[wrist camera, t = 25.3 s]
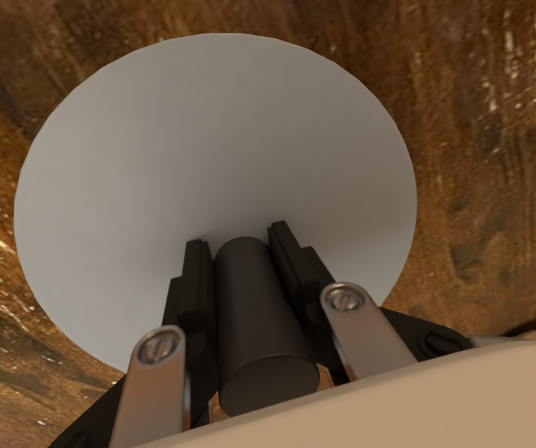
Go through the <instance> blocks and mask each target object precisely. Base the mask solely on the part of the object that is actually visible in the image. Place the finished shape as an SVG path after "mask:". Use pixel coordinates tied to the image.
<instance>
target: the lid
mask: <svg viewBox="0 0 536 448" xmlns="http://www.w3.org/2000/svg"><path fill="white" fill-rule="evenodd" d="M416 213H417V195H416V182H415V177H414V171H413V166H412V162H411V159H410V156H409V153H408V150H407V147H406V144H405V142H404V140H403V138H402V136H401V134H400V132H399V130H398V128H397V126H396V124H395V122H394V120H393V119H392V118H391V116H390V115H389V114H388V112H387V111H386V110H385V108H384V107H383V105H382V104H381V103H380V101H379V100H378V99H377V98H376V97H375V96H374V95H373V94H372V93H371V92H370V91H369V90H368V89H367V88H366V87H365V86H364V85H363V84H362V83H361V82H360V81H359V80H358V79H357V78H355V77H354V76H352V75H351V74H350V73H348V72H347V71H346V70H344V69H343V68H341V67H340V66H339V65H337V64H336V63H334V62H332V61H330V60H328V59H326V58H324V57H322V56H320V55H318V54H316V53H314V52H312V51H311V50H309V49H306V48H303V47H300V46H297V45H294V44H291V43H288V42H285V41H281V40H278V39H275V38H268V37H262V36H256V35H249V34H243V33H205V34H199V35H192V36H186V37H180V38H174V39H169V40H165V41H162V42H159V43H156V44H153V45H150V46H147V47H144V48H141V49H138V50H135V51H133V52H131V53H129V54H127V55H125V56H123V57H122V58H120V59H118V60H116V61H114V62H112V63H110V64H108V65H106V66H104V67H103V68H101V69H100V70H98V71H97V72H96V73H94V74H93V75H92V76H91V77H89V78H88V79H87V80H85V81H84V82H83V83H81V84H80V85H79V86H77V87H76V88H75V89H73V91H72V92H71V93H70V94H69V95H68V96H67V97H66V98H65V99H64V100H63V101H62V102H61V103H60V105H59V106H58V107H57V108H56V109H55V110H54V111H53V112H52V113H51V114H50V116H49V117H48V119H47V120H46V122H45V124H44V125H43V127H42V128H41V130H40V131H39V133H38V134H37V136H36V138H35V139H34V141H33V142H32V145H31V147H30V150H29V152H28V154H27V157H26V159H25V162H24V164H23V167H22V169H21V172H20V177H19V181H18V186H17V191H16V196H15V200H14V233H15V240H16V246H17V253H18V257H19V260H20V263H21V266H22V269H23V272H24V275H25V278H26V281H27V282H28V284H29V286H30V288H31V290H32V292H33V294H34V296H35V298H36V300H37V301H38V303H39V304H40V306H41V307H42V308H43V310H44V311H45V312H46V314H47V315H48V316H49V318H50V319H51V321H52V322H53V323H54V324H55V325H56V326H57V327H58V328H59V329H60V330H61V331H62V332H63V333H64V334H65V335H66V336H67V337H68V338H69V339H70V340H72V341H73V342H74V343H75V344H77V345H78V346H79V347H81V348H82V349H83V350H84V351H86V352H87V353H89V354H90V355H92V356H94V357H95V358H97V359H99V360H100V361H102V362H104V363H105V364H107V365H109V366H112V367H114V368H116V369H118V370H120V371H122V372H125V373H127V370H128V366H129V362H130V357H131V353H132V351H133V349H134V346H135V345H136V344H137V342H138V341H139V340H140V339H141V338H142V337H143V336H144V335H145V334H147V333H148V332H150V331H151V330H153V329H155V328H158V327H160V326H161V324H162V319H163V314H164V309H165V304H166V299H167V294H168V289H169V284H170V280H171V279H172V278H175V277H179V276H182V269H183V262H184V255H185V248H186V242H187V241H192V240H196V239H201V240H202V242H204V241H207V242H208V245H209V249H210V252H211V256H212V259H213V263H214V279H215V307H216V335H217V366H218V395H219V404H220V406H221V408H222V410H223V411H224V412H225V413H226V414H227V415H228V416H229V417H231V418H232V417H235V416H238V415H242V414H245V413H248V412H252V411H255V410H259V409H262V408H265V407H269V406H272V405H275V404H279V403H282V402H286V401H289V400H292V399H296V398H299V397H302V396H306V395H309V394H313V393H316V391H317V389H318V387H319V383H320V374H319V370H318V368H317V365H316V363H315V360H314V358H313V355H312V353H311V350H310V348H309V345H308V343H307V340H306V338H305V335H304V333H303V330H302V328H301V325H300V323H299V320H298V318H297V316H296V313H295V311H294V308H293V306H292V303H291V301H290V298H289V296H288V293H287V291H286V288H285V286H284V283H283V281H282V278H281V276H280V273H279V271H278V268H277V266H276V263H275V261H274V258H273V256H272V253H271V250H270V244H269V238H268V232H267V227H271V223H274V222H278V221H283V220H285V221H286V223H287V225H288V226H289V228H290V230H291V231H292V233H293V235H294V236H295V238H296V240H297V241H298V243H299V245H300V246H301V248H304V247H308V246H312V247H313V248H314V250H315V251H316V253H317V254H318V256H319V257H320V259H321V260H322V262H323V263H324V265H325V266H326V267H327V269H328V270H329V272H330V273H331V275H332V276H333V278H334V279H335V281H336V282H351V283H354V284H357V285H359V286H361V287H363V288H364V289H365V290H366V291H367V292H368V293H369V295H370V296H371V298H372V299H373V300H374V302H375V303H376V305H377V306H379V307H380V305H381V304H382V303H383V302H384V300H385V299H386V297H387V296H388V294H389V293H390V291H391V290H392V288H393V286H394V285H395V283H396V281H397V279H398V277H399V275H400V273H401V271H402V269H403V267H404V264H405V262H406V259H407V256H408V253H409V251H410V248H411V243H412V239H413V235H414V230H415V223H416Z"/></svg>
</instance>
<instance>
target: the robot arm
mask: <svg viewBox="0 0 536 448" xmlns="http://www.w3.org/2000/svg"><path fill="white" fill-rule="evenodd" d="M267 232H268V238H269V244H270V250H271V253H272V256H273V258H274V261H275V263H276V266H277V268H278V271H279V273H280V276H281V278H282V281H283V283H284V286H285V288H286V291H287V293H288V296H289V298H290V301H291V303H292V306H293V308H294V311H295V313H296V316H297V318H298V320H299V323H300V325H301V328H302V330H303V333H304V335H305V338H306V340H307V343H308V345H309V348H310V350H311V353H312V355H313V358H314V360H315V362H316V363H318V364H320V365H322V366H324V367H325V371H326V374H327V377H328V380H329V382H330V385H331V388H330V389H326V390H323V391H319V392H316V393H313V394H309V395H306V396H302V397H299V398H296V399H292V400H289V401H286V402H282V403H279V404H275V405H272V406H269V407H265V408H262V409H259V410H255V411H252V412H248V413H245V414H242V415H238V416H235V417H232V418H228V419H225V420H222V421H218V422H215V423H214V422H213V405H212V401H211V399H212V397H213V396H214V395H215V394H216V392H217V391H218V366H217V335H216V307H215V279H214V263H213V259H212V256H211V252H210V249H209V245H208V242H207V241H204V242H202V240H201V239H196V240H192V241H187V242H186V248H185V255H184V262H183V269H182V276H179V277H175V278H172V279H171V280H170V284H169V289H168V294H167V299H166V304H165V309H164V314H163V319H162V324H161V326H160V327H158V328H155V329H153V330H151V331H150V332H148V333H147V334H145V335H144V336H143V337H142V338H141V339H140V340H139V341H138V342H137V344H136V345H135V346H134V349H133V351H132V353H131V357H130V362H129V366H128V370H127V374H126V375H125V376H124V377H122V378H121V379H120V380H119V381H118V382H117V383H116V384H115V385H114V386H113V387H112V388H110V389H109V390H108V391H107V392H106V393H105V394H104V395H103V396H102V397H101V398H100V399H98V400H97V401H96V402H95V403H94V404H93V405H92V406H91V407H90V408H89V409H88V410H86V411H85V412H84V413H83V414H82V415H81V416H80V417H79V418H78V419H77V420H76V421H74V422H73V423H72V424H71V425H70V426H69V427H68V428H67V429H66V430H65V431H64V432H62V433H61V434H60V435H59V436H58V437H57V438H56V439H55V440H54V441H53V442H52V444H51V445H50V446H49V447H48V448H536V340H535V339H523V338H512V337H500V336H488V335H476V334H470V337H469V338H465V337H464V336H463V335H461V334H460V333H458V332H456V331H455V330H452V329H450V328H447V327H445V326H442V325H438V324H435V323H432V322H428V321H425V320H422V319H419V318H415V317H412V316H409V315H405V314H402V313H399V312H395V311H392V310H389V309H385V308H382V307H379V306H377V305H376V303H375V302H374V300H373V299H372V298H371V296H370V295H369V293H368V292H367V291H366V290H365V289H364V288H363V287H361V286H359V285H357V284H354V283H351V282H336V281H335V279H334V278H333V276H332V275H331V273H330V272H329V270H328V269H327V267H326V266H325V265H324V263H323V262H322V260H321V259H320V257H319V256H318V254H317V253H316V251H315V250H314V248H313V247H312V246H308V247H304V248H301V246H300V245H299V243H298V241H297V240H296V238H295V236H294V235H293V233H292V231H291V230H290V228H289V226H288V225H287V223H286V221H285V220H283V221H278V222H274V223H271V227H267Z"/></svg>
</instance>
